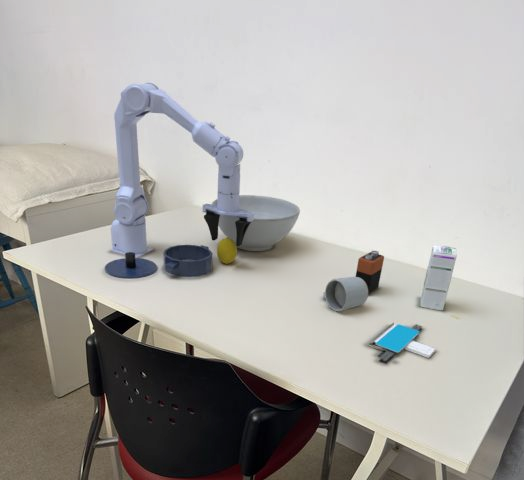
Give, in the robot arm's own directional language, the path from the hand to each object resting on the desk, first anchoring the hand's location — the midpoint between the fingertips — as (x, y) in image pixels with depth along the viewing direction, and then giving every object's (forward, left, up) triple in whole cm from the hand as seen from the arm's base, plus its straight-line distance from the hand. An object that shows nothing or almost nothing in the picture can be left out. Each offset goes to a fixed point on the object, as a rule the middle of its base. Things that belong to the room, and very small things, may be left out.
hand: (226, 242), depth 137 cm
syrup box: (+56, +5, -7) cm, 57 cm away
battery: (+39, +5, -7) cm, 40 cm away
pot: (-7, -9, -7) cm, 13 cm away
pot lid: (-19, -18, -6) cm, 27 cm away
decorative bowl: (-1, +20, -7) cm, 21 cm away
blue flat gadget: (+54, -20, -7) cm, 58 cm away
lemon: (0, 0, -7) cm, 7 cm away
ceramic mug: (+36, -8, -7) cm, 38 cm away
